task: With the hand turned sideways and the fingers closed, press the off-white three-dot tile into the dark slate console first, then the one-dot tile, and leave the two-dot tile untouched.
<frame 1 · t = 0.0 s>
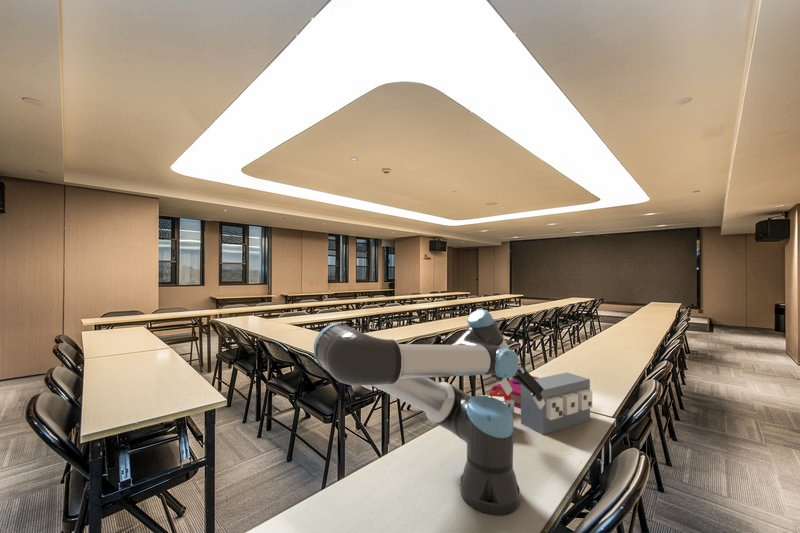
hand: (525, 398, 110), 15 cm above the table, tool tilted 35°, fingers open, 13 cm apart
puzzle cube: (492, 427, 122), on the table
three dot tile: (553, 407, 119), point 9 cm above the table, slide at 0.0 cm
ink cartridge box: (501, 414, 134), on the table
book: (528, 399, 152), on the table
two dot tile: (583, 399, 127), point 9 cm above the table, slide at 0.0 cm
tile console: (556, 421, 128), on the table
one dot tile: (569, 403, 123), point 9 cm above the table, slide at 0.0 cm
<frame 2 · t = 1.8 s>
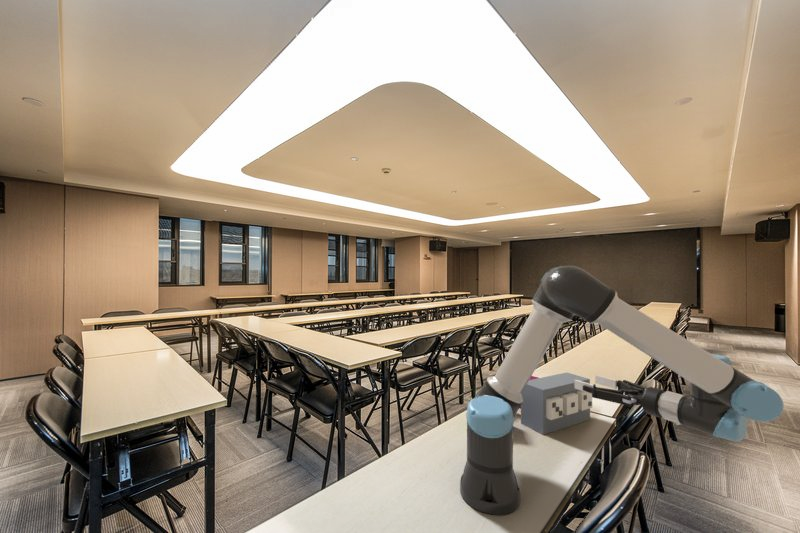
hand: (585, 381, 108), 22 cm above the table, tool horizontal, fingers open, 11 cm apart
nothing on the table moved.
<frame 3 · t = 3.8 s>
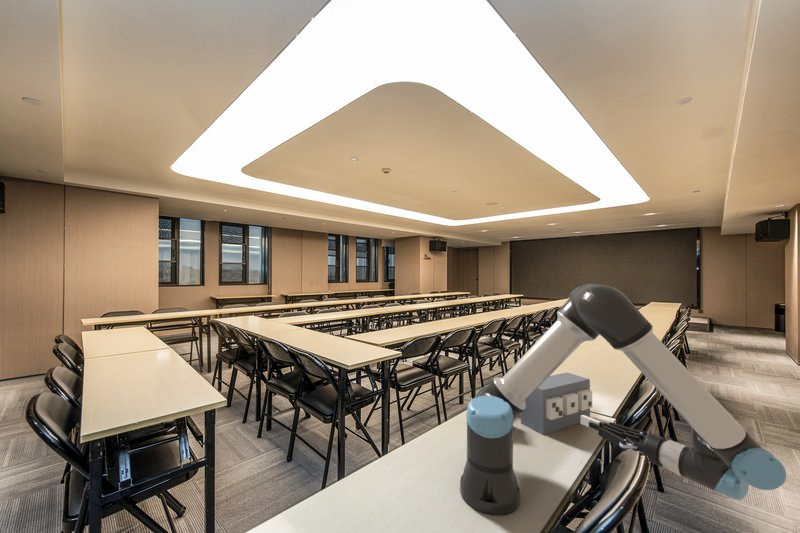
hand: (582, 419, 109), 9 cm above the table, tool horizontal, fingers closed
nothing on the table moved.
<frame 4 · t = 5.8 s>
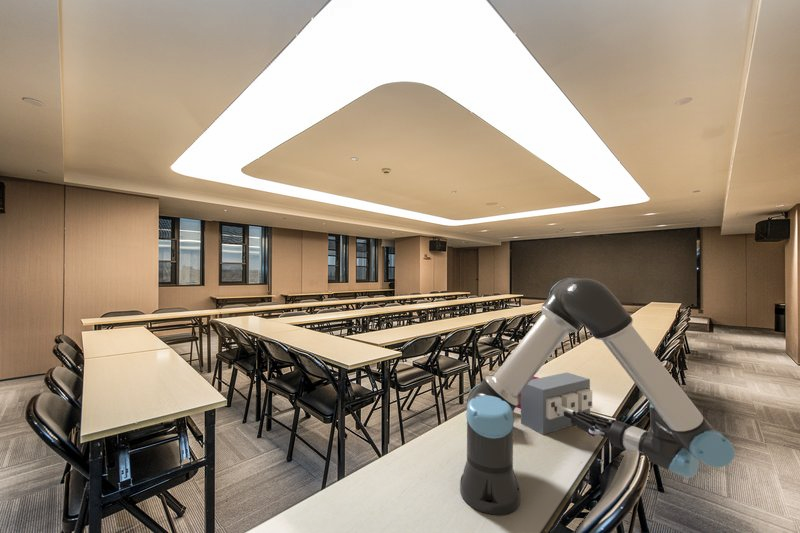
hand: (558, 409, 117), 9 cm above the table, tool horizontal, fingers closed
three dot tile: (552, 407, 119), point 9 cm above the table, slide at 0.4 cm, touching gripper
everything else where it was.
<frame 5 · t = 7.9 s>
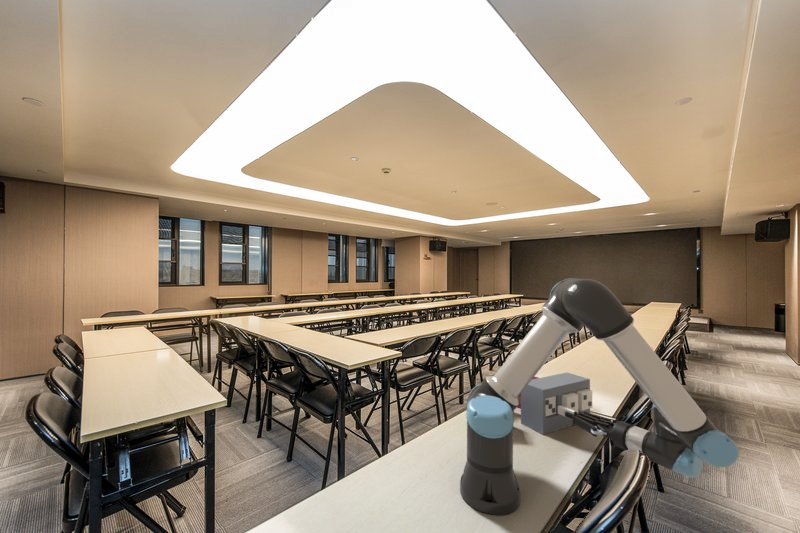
hand: (559, 409, 117), 9 cm above the table, tool horizontal, fingers closed
three dot tile: (546, 404, 121), point 9 cm above the table, slide at 2.9 cm
everything else where it was.
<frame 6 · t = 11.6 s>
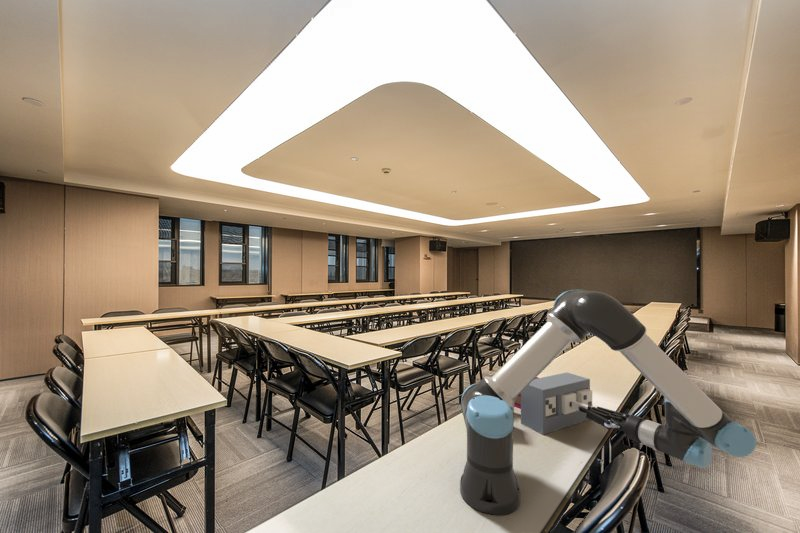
hand: (573, 404, 122), 9 cm above the table, tool horizontal, fingers closed
one dot tile: (567, 402, 123), point 9 cm above the table, slide at 0.7 cm, touching gripper
everything else where it was.
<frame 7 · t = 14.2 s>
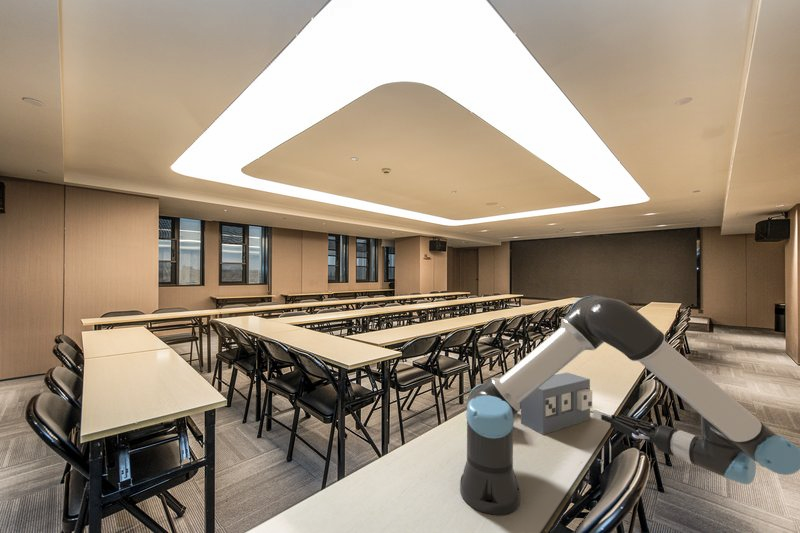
hand: (594, 412, 114), 9 cm above the table, tool horizontal, fingers closed
one dot tile: (562, 400, 125), point 9 cm above the table, slide at 2.9 cm
everything else where it was.
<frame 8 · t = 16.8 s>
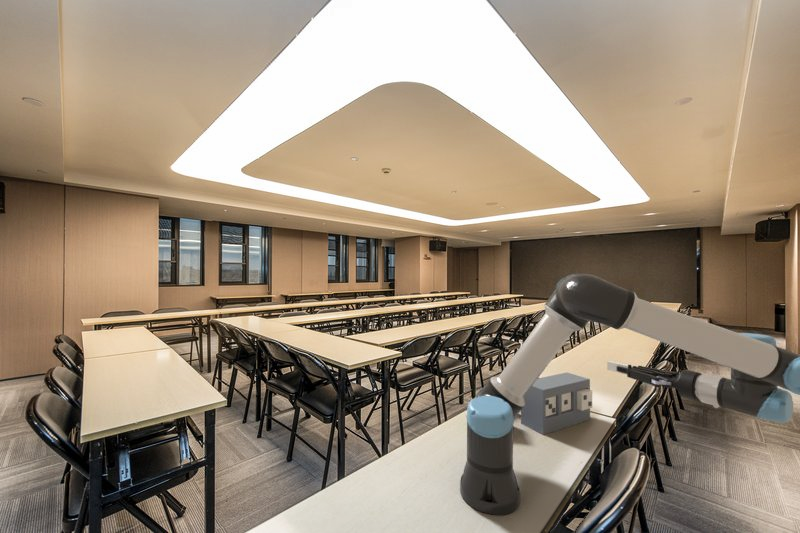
hand: (608, 365, 107), 28 cm above the table, tool horizontal, fingers closed
nothing on the table moved.
at the end: three dot tile slide at 2.9 cm; one dot tile slide at 2.9 cm; two dot tile slide at 0.0 cm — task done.
